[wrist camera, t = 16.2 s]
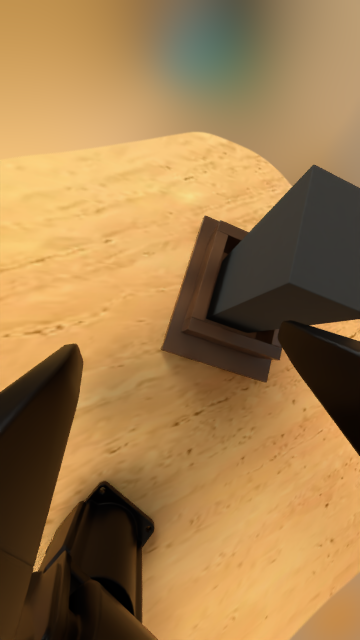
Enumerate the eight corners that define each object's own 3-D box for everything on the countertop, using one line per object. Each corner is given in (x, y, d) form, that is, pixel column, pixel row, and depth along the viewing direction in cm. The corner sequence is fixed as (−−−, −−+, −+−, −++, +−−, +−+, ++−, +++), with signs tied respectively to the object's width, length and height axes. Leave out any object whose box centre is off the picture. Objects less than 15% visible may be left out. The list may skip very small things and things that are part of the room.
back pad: (247, 333, 21) (374, 317, 10) (205, 318, 21) (288, 282, 9) (261, 276, 23) (387, 202, 11) (222, 260, 22) (313, 163, 10)
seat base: (261, 381, 22) (287, 388, 18) (160, 349, 20) (165, 350, 16) (288, 257, 25) (315, 240, 21) (202, 220, 23) (214, 195, 19)
